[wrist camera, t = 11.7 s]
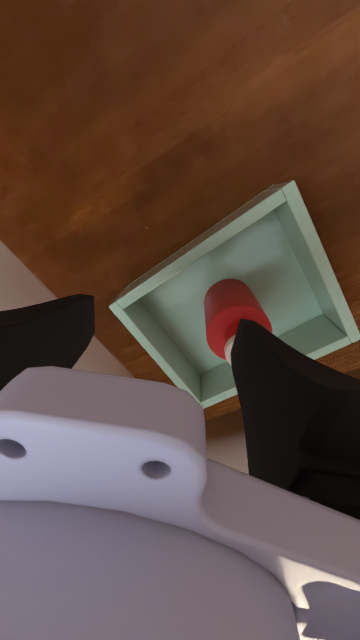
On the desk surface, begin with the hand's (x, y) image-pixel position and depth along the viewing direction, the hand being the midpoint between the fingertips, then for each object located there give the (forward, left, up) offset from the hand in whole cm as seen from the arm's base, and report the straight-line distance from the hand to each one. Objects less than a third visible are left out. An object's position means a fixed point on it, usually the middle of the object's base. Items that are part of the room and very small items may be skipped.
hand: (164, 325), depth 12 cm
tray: (+2, -5, -10) cm, 12 cm away
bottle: (+2, -5, -10) cm, 11 cm away
